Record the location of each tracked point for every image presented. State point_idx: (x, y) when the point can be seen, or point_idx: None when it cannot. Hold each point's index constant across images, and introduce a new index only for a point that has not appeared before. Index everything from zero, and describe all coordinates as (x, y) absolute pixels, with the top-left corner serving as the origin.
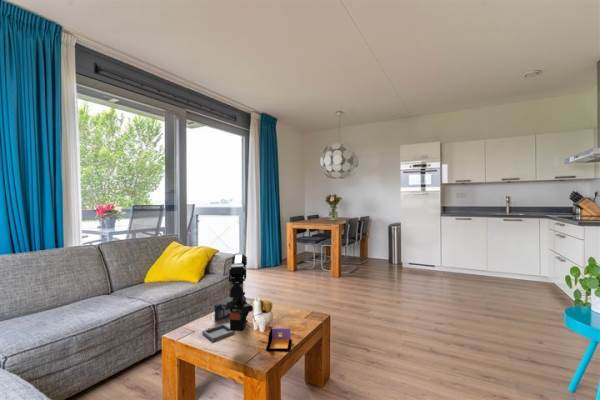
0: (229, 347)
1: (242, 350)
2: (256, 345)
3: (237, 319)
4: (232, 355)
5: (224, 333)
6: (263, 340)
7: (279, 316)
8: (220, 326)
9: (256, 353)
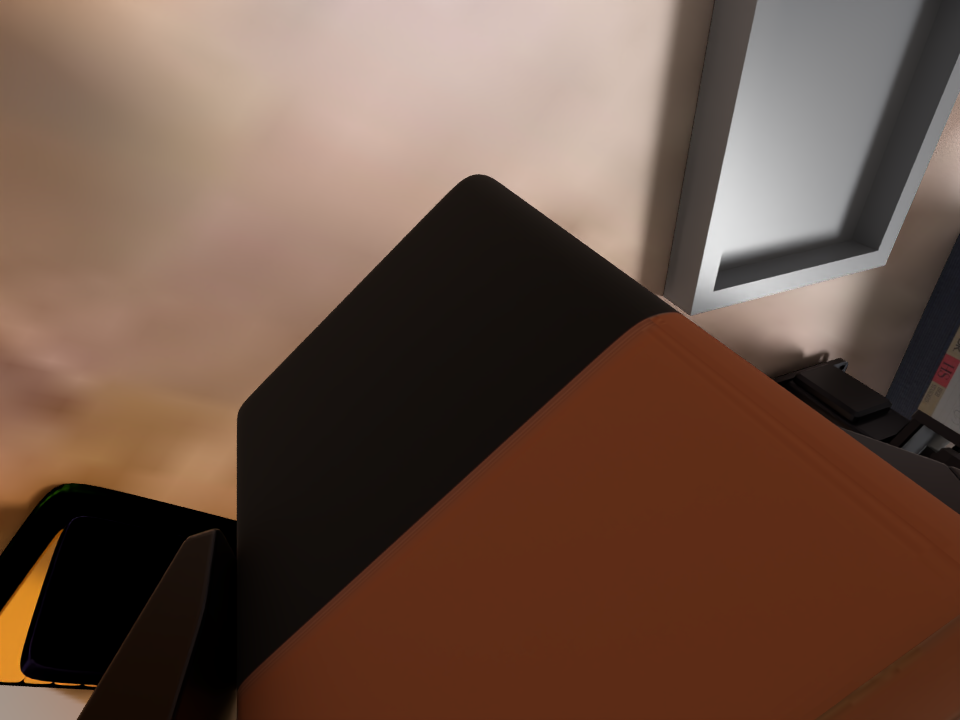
0: (428, 107)
1: (230, 234)
2: None
3: (381, 572)
4: (134, 23)
5: (732, 183)
6: None
7: None
8: (883, 215)
9: (32, 368)
